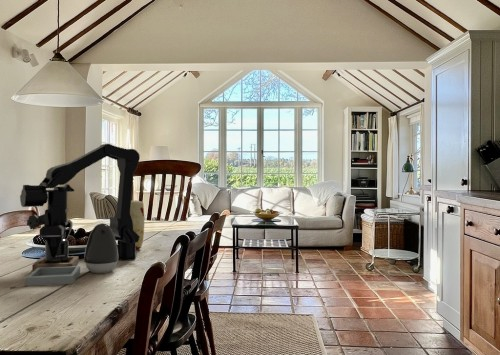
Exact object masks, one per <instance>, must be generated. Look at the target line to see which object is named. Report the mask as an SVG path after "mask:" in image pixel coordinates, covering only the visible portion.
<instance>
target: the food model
mask: <svg viewBox="0 0 500 355" xmlns="http://www.w3.org/2000/svg"><path fill="white" fill-rule="evenodd" d="M144 207H145V206H144V202H143V201H142V200H141V201H140V200H134V199H133V200H131V208H130V215H131V218H132V221H133V230H134V231H135V232H136V233H137V234H138V235H139V236H140V238H139V241H138V242H136V251H137V250H138V251H139V250H140V249H141V248H142V246H143V241H144V237H145V236H144V235H145V210H144V209H145V208H144Z"/></svg>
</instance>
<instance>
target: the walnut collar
mask: <svg viewBox="0 0 500 355" xmlns="http://www.w3.org/2000/svg"><path fill="white" fill-rule="evenodd" d="M79 261H80V260H79V256H78V255H77V256H76V255H75V256H74V255H72V256H69V255H68V263H47V264H45V256H42V257H40V258H39V259H37V260H36V261H35V262H33V264H31V265H32V267H31V268H32V269H31V273H32V272H33V271H34V270H36V269H37V268H41V267H72V266H79V264H80V263H79Z"/></svg>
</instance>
